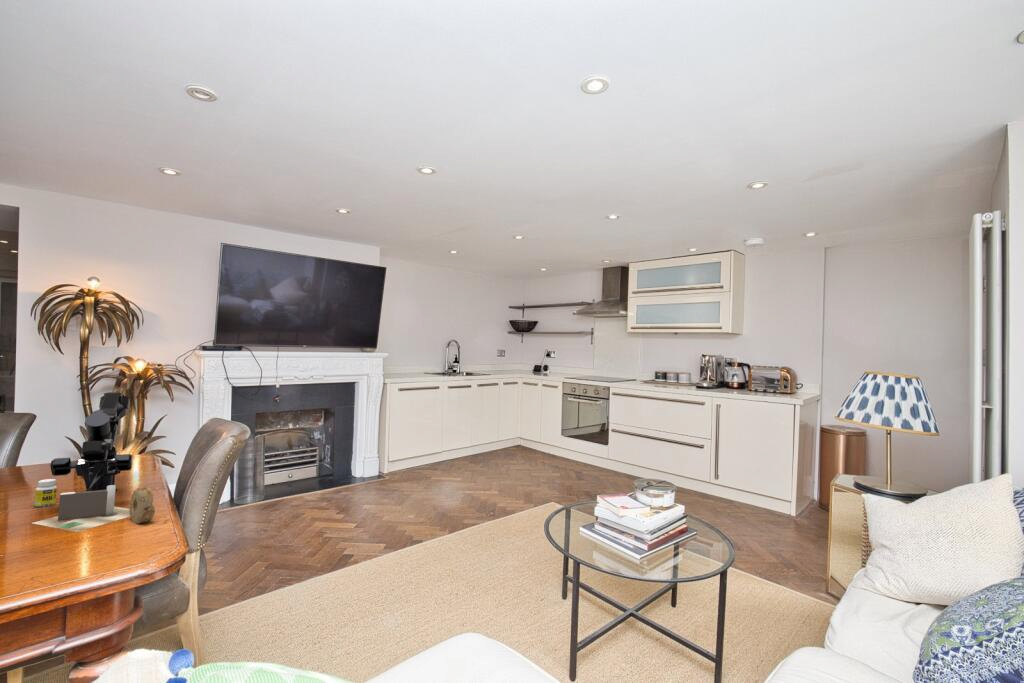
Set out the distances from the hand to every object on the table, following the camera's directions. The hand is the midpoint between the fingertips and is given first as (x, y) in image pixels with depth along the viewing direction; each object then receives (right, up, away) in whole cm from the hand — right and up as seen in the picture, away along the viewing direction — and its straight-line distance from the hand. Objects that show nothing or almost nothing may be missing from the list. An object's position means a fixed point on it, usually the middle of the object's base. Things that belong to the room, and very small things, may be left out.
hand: (87, 488), depth 138 cm
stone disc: (+20, -9, -5) cm, 22 cm away
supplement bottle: (-17, -8, +4) cm, 19 cm away
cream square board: (+4, -8, -4) cm, 10 cm away
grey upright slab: (+3, -7, -4) cm, 9 cm away
